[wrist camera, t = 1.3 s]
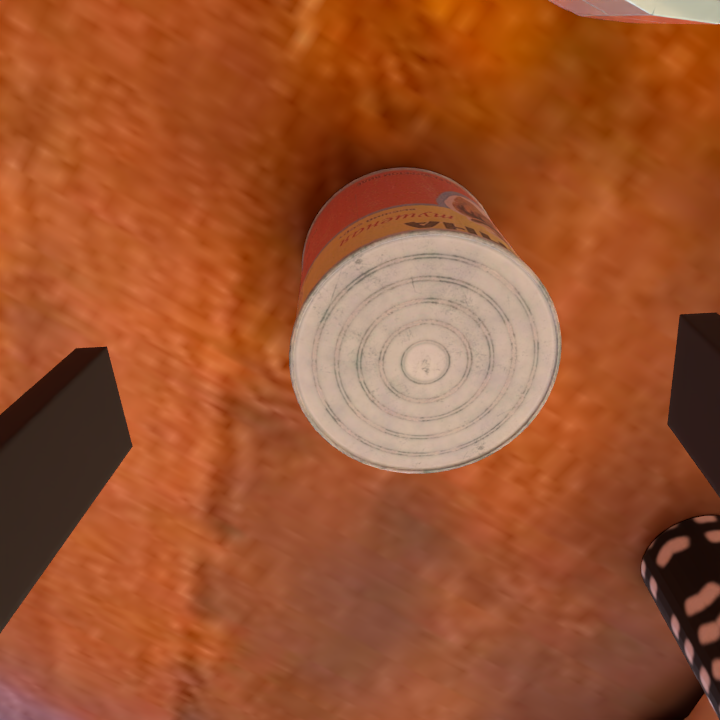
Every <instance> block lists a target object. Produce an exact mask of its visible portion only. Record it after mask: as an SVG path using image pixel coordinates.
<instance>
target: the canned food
mask: <svg viewBox="0 0 720 720" xmlns="http://www.w3.org/2000/svg"><path fill="white" fill-rule="evenodd" d="M560 357H561V331H560V324H559V320H558V316H557V312H556V309H555V307H554V304H553V301H552V299H551V297H550V295H549V293H548V291H547V290H546V288H545V287H544V285H543V284H542V282H541V281H540V279H539V278H538V277H537V275H536V274H535V273H534V272H533V271H532V270H531V268H530V267H529V266H528V265H527V264H525V263H524V262H523V261H522V260H521V259H520V257H519V256H518V255H517V253H516V252H515V251H514V250H513V248H512V247H511V246H510V244H509V243H508V242H507V241H506V239H505V238H504V237H503V235H502V234H501V233H500V231H499V230H498V229H497V228H496V226H495V225H494V224H493V222H492V221H491V220H490V218H489V216H488V214H487V212H486V211H485V209H484V208H483V206H482V205H481V204H480V203H479V201H478V200H477V199H476V198H475V197H474V196H473V195H472V194H471V193H470V192H469V191H468V190H467V189H465V188H464V187H463V186H461V185H460V184H459V183H457V182H455V181H454V180H452V179H450V178H448V177H446V176H444V175H441V174H439V173H436V172H433V171H429V170H425V169H419V168H407V167H401V168H390V169H383V170H379V171H376V172H372V173H369V174H367V175H364V176H362V177H360V178H358V179H356V180H354V181H352V182H350V183H349V184H347V185H346V186H344V187H343V188H341V189H340V190H339V191H338V192H336V193H335V194H334V195H333V196H332V197H331V198H330V199H329V200H328V201H327V202H326V203H325V205H324V206H323V207H322V208H321V210H320V211H319V213H318V214H317V215H316V217H315V219H314V221H313V223H312V225H311V227H310V229H309V231H308V234H307V237H306V240H305V244H304V249H303V256H302V276H301V284H300V291H299V299H298V307H297V314H296V321H295V324H294V327H293V332H292V336H291V342H290V351H289V367H290V376H291V381H292V385H293V389H294V392H295V395H296V398H297V400H298V403H299V405H300V407H301V409H302V411H303V412H304V414H305V416H306V417H307V419H308V420H309V422H310V423H311V424H312V426H313V427H314V428H315V430H316V431H317V432H318V433H319V434H320V435H321V436H322V437H323V438H324V439H325V440H326V441H328V442H329V443H330V444H331V445H332V446H334V447H335V448H336V449H338V450H339V451H341V452H342V453H344V454H346V455H347V456H349V457H351V458H353V459H355V460H357V461H359V462H361V463H364V464H367V465H369V466H372V467H375V468H379V469H383V470H387V471H393V472H400V473H420V474H421V473H434V472H441V471H447V470H452V469H456V468H459V467H463V466H466V465H469V464H471V463H474V462H476V461H479V460H481V459H483V458H485V457H487V456H489V455H491V454H493V453H495V452H496V451H498V450H500V449H501V448H503V447H504V446H505V445H507V444H508V443H510V442H511V441H512V440H513V439H515V438H516V437H517V436H518V435H519V434H520V433H521V432H522V431H523V430H524V429H525V428H526V427H527V426H528V425H529V424H530V423H531V422H532V421H533V419H534V418H535V417H536V416H537V414H538V413H539V411H540V410H541V408H542V407H543V405H544V404H545V402H546V400H547V398H548V396H549V395H550V392H551V390H552V388H553V385H554V383H555V380H556V376H557V373H558V369H559V364H560Z"/></svg>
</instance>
